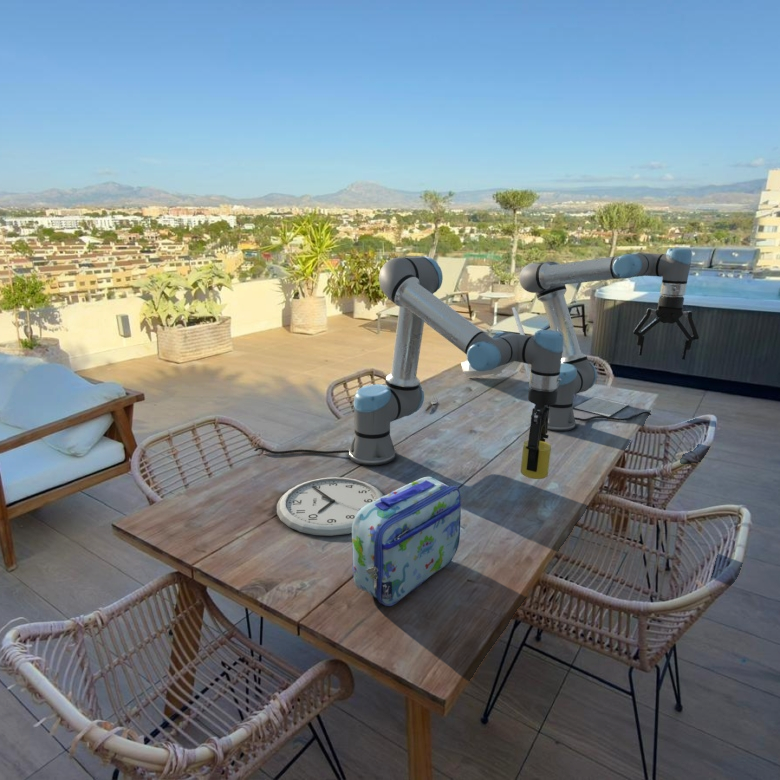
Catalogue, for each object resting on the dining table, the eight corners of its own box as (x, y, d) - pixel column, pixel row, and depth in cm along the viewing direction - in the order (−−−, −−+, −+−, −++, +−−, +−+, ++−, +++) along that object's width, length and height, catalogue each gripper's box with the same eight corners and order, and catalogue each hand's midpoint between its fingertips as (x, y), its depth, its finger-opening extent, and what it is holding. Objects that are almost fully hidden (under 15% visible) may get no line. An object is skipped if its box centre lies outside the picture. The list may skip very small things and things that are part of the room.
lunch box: (381, 619, 101) (382, 525, 95) (345, 592, 109) (344, 503, 102) (464, 563, 119) (469, 480, 113) (428, 543, 126) (432, 464, 120)
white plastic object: (482, 418, 266) (461, 395, 241) (463, 346, 288) (443, 318, 264) (553, 394, 254) (538, 368, 229) (528, 321, 276) (512, 289, 251)
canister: (539, 481, 144) (542, 452, 142) (515, 472, 149) (518, 444, 147) (552, 473, 149) (555, 445, 147) (528, 464, 154) (531, 437, 152)
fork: (422, 411, 216) (422, 407, 215) (433, 400, 230) (433, 396, 230) (428, 412, 215) (429, 407, 215) (438, 401, 230) (439, 396, 229)
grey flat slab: (608, 416, 214) (573, 407, 224) (608, 416, 214) (573, 408, 224) (628, 404, 229) (594, 396, 238) (628, 405, 229) (594, 397, 238)
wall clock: (392, 527, 129) (268, 531, 127) (391, 533, 130) (269, 537, 127) (383, 473, 158) (282, 475, 155) (383, 478, 158) (282, 480, 156)
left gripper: (550, 400, 131) (540, 482, 138) (564, 380, 149) (554, 454, 156) (520, 395, 135) (512, 476, 141) (537, 376, 152) (529, 449, 159)
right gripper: (632, 294, 178) (622, 355, 185) (716, 299, 169) (703, 362, 176) (631, 292, 185) (622, 350, 191) (712, 296, 176) (700, 358, 182)
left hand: (534, 464), depth 149 cm, fingers closed on canister, 7 cm apart
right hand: (661, 356), depth 184 cm, fingers open, 13 cm apart
